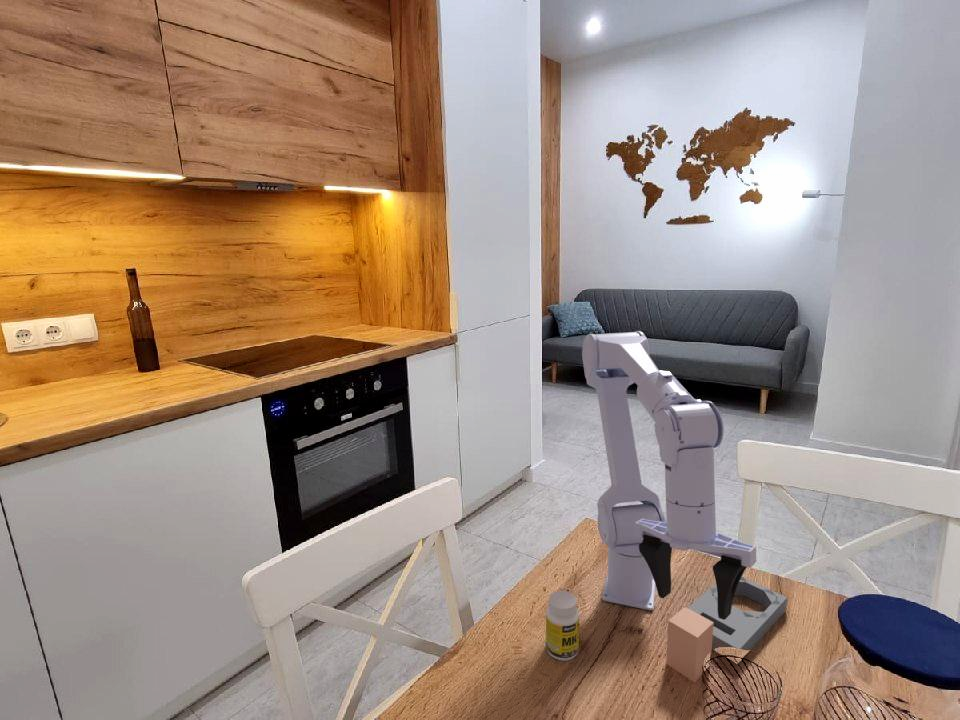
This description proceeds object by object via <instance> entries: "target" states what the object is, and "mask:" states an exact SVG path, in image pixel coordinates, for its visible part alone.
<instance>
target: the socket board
mask: <svg viewBox="0 0 960 720" xmlns="http://www.w3.org/2000/svg"><path fill="white" fill-rule="evenodd" d="M734 596H745V597H747V598H748V599H751V600H753V601H755V602H757V603H759V604H762V606H763V607H764V609H765V610H763V611H749V610H747V611H746V610H742V609H740V608H738V607H736V606H734V605H732V608H731V614H730V615H729V616H728V617H727V618H726V619H725V620H723V619H720V618H719V616H718V593H717V586H716V582H715V583H714V584H712V586H711V587H709V588H708V589H707V590H706V591H705V592H704V593H703V594H701V595H700V596H699V597H698V598H697V599H696V600H694V601H693V602H692V603H691V604H690V605H689V606H688V607H687V608H688V609H690V610H692V611H694V612H696V613H697V614H699V615H701V616H703V617H705V618H707V619H708V620H710V621H712V622H714V625H713V638H712V651H713V649H715V648H718V647H734V648H739V649H743V650H751V651H752V650H753V649H754V648H755V646H757V645H758V643H759V642H760V641H761V640H762V639H763V638H764V637H765V635H766V634H767V633H768V632H769V631H770V630H771V629H772V628H773V626H774V625H775V624H776V623H777V622H778V621H779V619H780V618H781V617H782V616H783V615H784V614H785V613H786V612H787V605H788V604H787V602H788V597H787V596H785V595H783V594H781V593H779V592H777V591H774V590H771V589H769V588H767V587H766V586H763V585H761V584H759V583H758V582H755V581H752V580H751V579H748V578H746V577H744V576H742V577H741V579H740V581H739V584H738V586H737V589H736V592H735V595H734Z"/></svg>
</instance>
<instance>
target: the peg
mask: <svg viewBox="0 0 960 720" xmlns="http://www.w3.org/2000/svg"><path fill="white" fill-rule="evenodd" d="M667 622H668V624H667V643H666V645H667V646H666V660H665V664H666V665H668V666H669V667H670V668H672V669H673V670H675V671H677V673H679V674H681V675H683V677H685V678H687V679H688V680H690V681H692V682H693V683H696V682H697V681H698V679H700V677H701V676H702V675H703V674H702V665H703V661H704V659H705V658H706V657H707V655H708V654H709V653H710V652H711V651H713V650H712V638H713V625H714V622H712V621H710V620H708V619H707V618H705V617H703V616H701V615H699V614H697V613H696V612H694V611H692V610H690V609H688V607H687V606H684V607H683V608H681V609H680V610H679V611H678V612H676V613H675V614H674V615H673V616H671V618H670V619H668V621H667ZM711 653H712V652H711ZM701 674H702V675H701Z"/></svg>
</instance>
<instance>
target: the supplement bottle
mask: <svg viewBox="0 0 960 720" xmlns="http://www.w3.org/2000/svg"><path fill="white" fill-rule="evenodd" d="M545 648H546V651H547V654H548V655H550V657H552V658H554V659H556V660H558V661H562V662H563V661H565V662H566V661H570V660H573V659H574V658H575V657H576V656H577V655H578V653H579V651H580V613H579V609H578V600H577V596H576V595H574V594H573V593H572V592H570V591H567V590H564V589H563V590H561V589H560V590H555V591H553V592H551V593H550V595H549V596H548V606H547V608H546V610H545Z"/></svg>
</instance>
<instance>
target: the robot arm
mask: <svg viewBox="0 0 960 720" xmlns="http://www.w3.org/2000/svg"><path fill="white" fill-rule="evenodd" d="M581 357H582V364H583V370H584V371H583V372H584V377H585V379H586V385H588V386H589V387H591V388H593V389H595V390H596V392H595V393H596V396H597V400H598V406H599V412H600V418H601V425H602V431H603V433H602V434H603V438H604V444H605V451H606V457H607V459H606V460H607V463H608V465H607V466H608V470H609V477H610V483H611V485H610V487H608V489H606V490H605V492H603V493H602V495H600V497H599V498H598V499H597V528H598V533H599V537H600V539H601V541H602V543H603V544H604V545H606V547H607V549H608V550H607V551H608V552H607V574H606V579H605V584H604V588H603V592H602V595H601V596H602V597H601V599H602V601H604V602H608V603H613V604H617V605H623V606H628V607H632V608H633V607H634V608H638V609H642V610H647V611H653V610H654V608H655V607H654V605H655V604H654V603H655V590H656V591H657V594H658V597H659V598H661V599H665V598H666V597H667V596H668V595H669V594H671V592H672V573H671V572H672V571H671V568H672V567H671V563H672V553H673V551H672V550H673V549H675V550H678V551H684V552H686V551H689V550H691V551H695V552H700V553H704V554H708V555H711V556H714V557H719V558H720V560H718V561H717V562H715V563H714V564H713V565H712V571H713V576H714V580H715V583H716V586H717V593H718V616H719V618H720V619H723V620H725V619H726V618H727V617H728V616H729V615H730V614H731V608H732V606H733V603H734V598H735V596H736V595H735V592H736V589H737V586H738V584H739V581H740V579H741V577H743V574H745V571H746V569H747V568H750V569H751V568H752V567H753V566H754V565H755V564H756V563H757V546H756V545H753V544H749V543H746V542H743V541H741V540H739V539H738V540H737V539H736V538H733V537H730V536H728V535H726V534H722V533H720V532H718V531H717V525H716V524H717V523H716V521H717V520H716V519H717V518H716V493H715V492H716V490H715V489H716V488H715V486H716V485H715V458H714V457H715V455H714V452H715V451H714V449H716V448H718V447H719V446H720V445H721V443H722V441H723V438H724V434H725V433H724V421H723V418H722V414H721V413H720V411H719V409H718V408H717V407H716V405H715V404H714V402H712V401H710V400H701V399H700V398H699V399H698V398H697V399H696V398H694V397H693V396H692V394H691V393H690V392H688V390H687V389H686V388H685V387H684V386H683V385H682V384H681V382H680V381H679V380H678V379H677V378H676V377H675V376H674V375H673V374H672V372H670V371H669V370H659V368H658V367H657V365H656V364H655V362H654V361H653V359H652V358H651V357H650V344H649V341H648V338H647V336H646V335H645V334H644V332H642V331H641V330H635V331H631V332H629V331H628V332H612V333H611V332H610V333H596V334H595V333H588V334H587V335H586V336H585V337H584V339H583V343H582V351H581ZM633 384H636V385H637V389H636V397H637V398H638V401H639V402H640V403H641V405H642V406H643V407H644V409H645V410H646V411H647V413H648V415H649V417H651V419H653V421H654V424H653V425H654V433H655V437H656V441H657V444H658V447H659V448H658V449H659V457H660V461H661V463H663V464H664V476H665V477H664V480H665V481H664V482H665V510H666V511H665V512H666V514H665V512H664V510H663V508H662V504H661V502H660V497H659V495H658V494H657V493H656V492H655V491H653V490H651V489H650V488H648V487H647V486H645V485H644V484H643V483H642V477H641V476H642V475H641V470H640V466H639V459H638V453H637V448H636V442H635V441H636V440H635V436H634V435H635V434H634V431H633V430H634V429H633V423H632V417H631V413H630V412H631V411H630V406H629V399H628V395H627V390H628V388H629V386H631V385H633ZM633 502H635V503H636V502H640V503H641V504H640V503H639V504H628V505H617V504H624V503H633ZM616 505H617V506H616Z"/></svg>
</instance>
